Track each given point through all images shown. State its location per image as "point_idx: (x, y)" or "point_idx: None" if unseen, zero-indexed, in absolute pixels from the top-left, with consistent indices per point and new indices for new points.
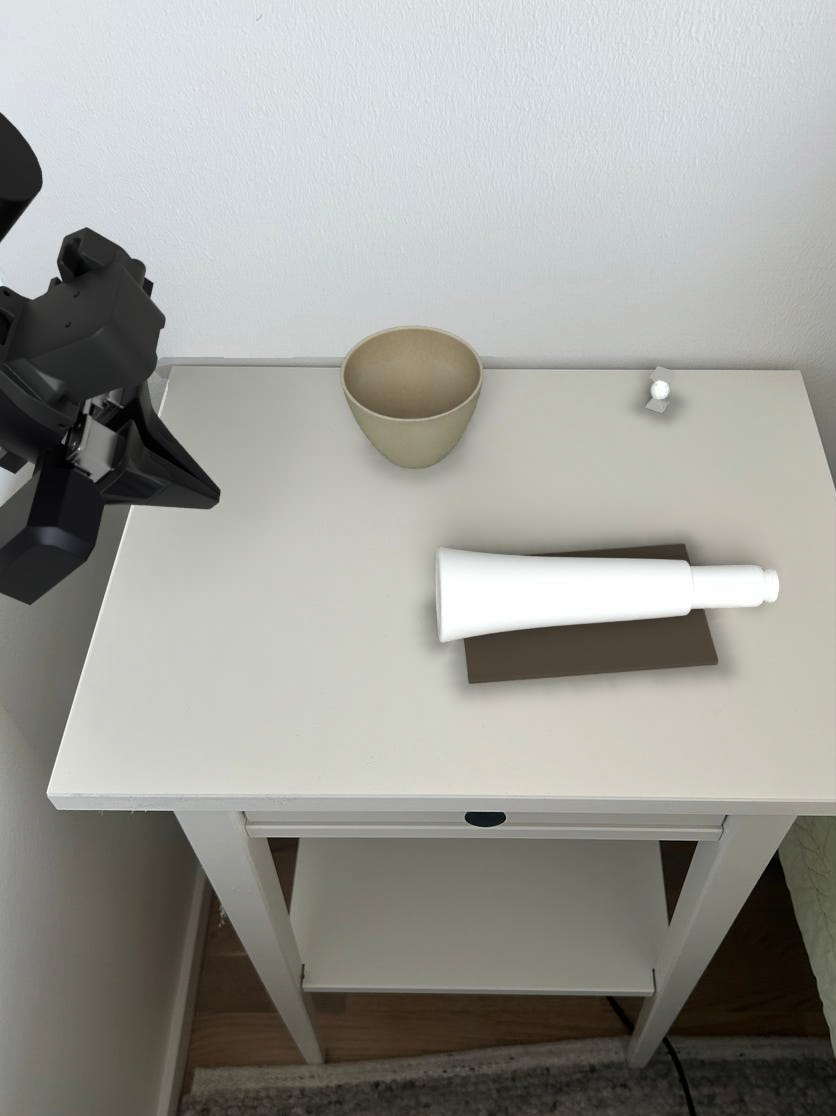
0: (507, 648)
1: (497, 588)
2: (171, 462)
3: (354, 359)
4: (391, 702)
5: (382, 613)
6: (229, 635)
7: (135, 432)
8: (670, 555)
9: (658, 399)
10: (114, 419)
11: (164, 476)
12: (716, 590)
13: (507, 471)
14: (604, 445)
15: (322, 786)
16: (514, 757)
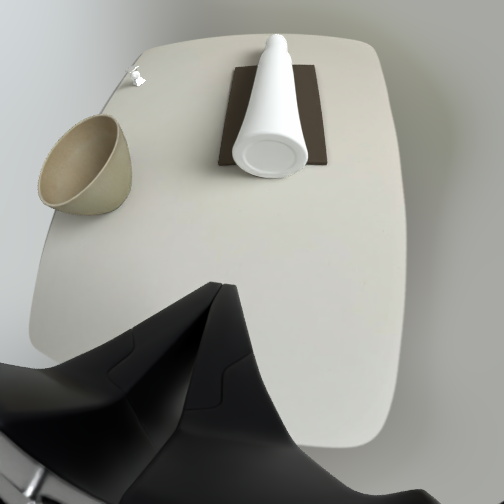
0: None
1: (286, 109)
2: (178, 355)
3: (48, 201)
4: (340, 214)
5: (256, 215)
6: (260, 339)
7: (182, 482)
8: (242, 71)
9: (139, 78)
10: (85, 486)
11: (256, 371)
12: (283, 47)
13: (151, 139)
14: (153, 98)
15: (404, 265)
16: (378, 150)
